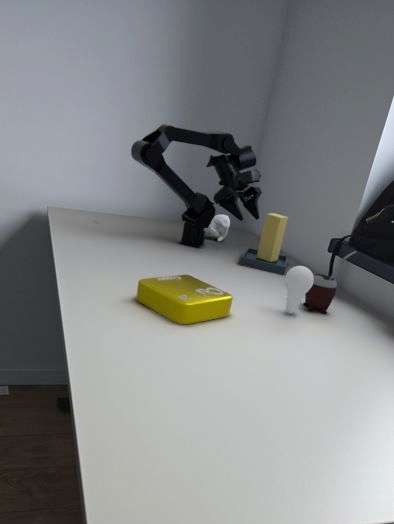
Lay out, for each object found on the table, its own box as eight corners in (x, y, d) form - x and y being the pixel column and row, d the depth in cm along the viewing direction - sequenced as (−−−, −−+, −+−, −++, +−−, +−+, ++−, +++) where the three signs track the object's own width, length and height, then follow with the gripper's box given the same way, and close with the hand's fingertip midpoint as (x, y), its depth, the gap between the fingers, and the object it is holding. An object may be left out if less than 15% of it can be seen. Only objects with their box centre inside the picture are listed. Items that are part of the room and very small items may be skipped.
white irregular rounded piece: (231, 217, 164) (195, 213, 164) (228, 242, 167) (193, 239, 167) (230, 214, 170) (195, 210, 170) (227, 238, 173) (193, 235, 173)
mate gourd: (294, 306, 117) (311, 243, 111) (311, 301, 122) (328, 242, 116) (322, 317, 113) (341, 253, 106) (338, 312, 118) (357, 251, 112)
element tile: (184, 291, 112) (187, 271, 110) (232, 316, 103) (237, 294, 101) (131, 298, 101) (134, 276, 100) (180, 326, 93) (185, 302, 91)
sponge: (255, 260, 149) (266, 213, 143) (263, 258, 152) (274, 213, 147) (269, 265, 146) (280, 217, 141) (277, 263, 150) (288, 217, 144)
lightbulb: (305, 313, 113) (318, 267, 109) (301, 321, 108) (315, 272, 103) (279, 306, 114) (291, 260, 110) (274, 313, 109) (287, 265, 105)
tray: (239, 264, 144) (241, 256, 143) (246, 254, 158) (247, 247, 157) (283, 274, 142) (285, 267, 141) (286, 263, 156) (288, 256, 155)
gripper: (229, 156, 138) (253, 205, 137) (263, 159, 152) (285, 204, 151) (202, 179, 145) (225, 226, 144) (237, 180, 159) (258, 223, 158)
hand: (250, 219), depth 149 cm, fingers open, 9 cm apart
